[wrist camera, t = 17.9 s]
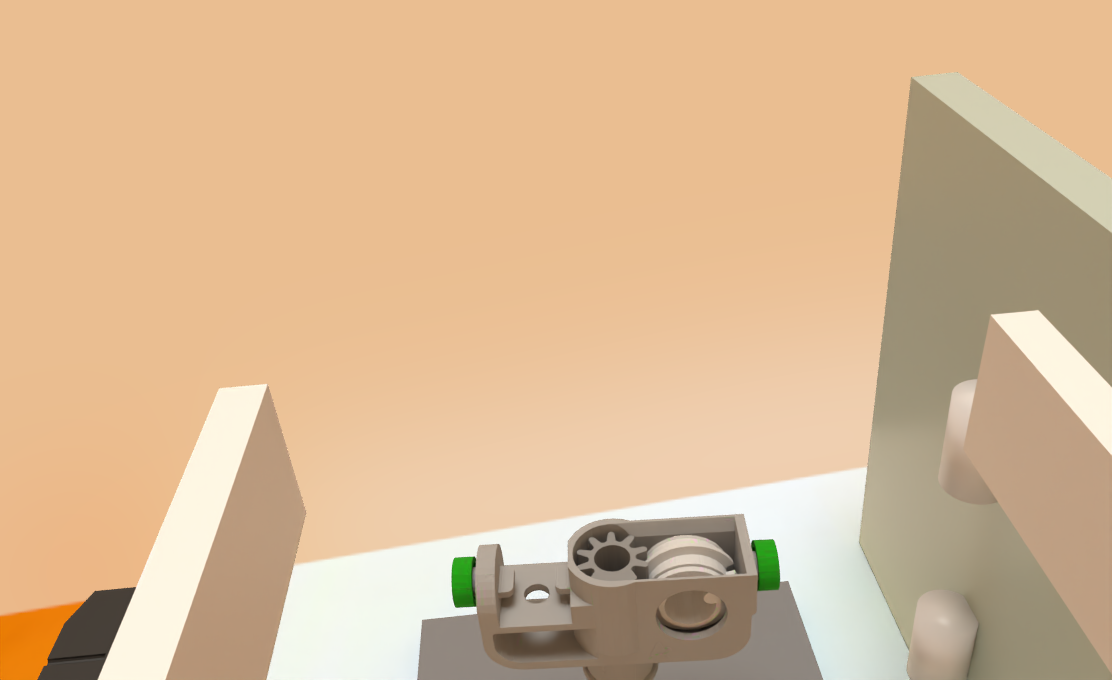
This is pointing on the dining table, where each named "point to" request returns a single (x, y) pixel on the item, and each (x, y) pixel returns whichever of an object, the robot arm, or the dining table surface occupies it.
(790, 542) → the dining table surface
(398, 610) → the dining table surface
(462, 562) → the mechanical component
